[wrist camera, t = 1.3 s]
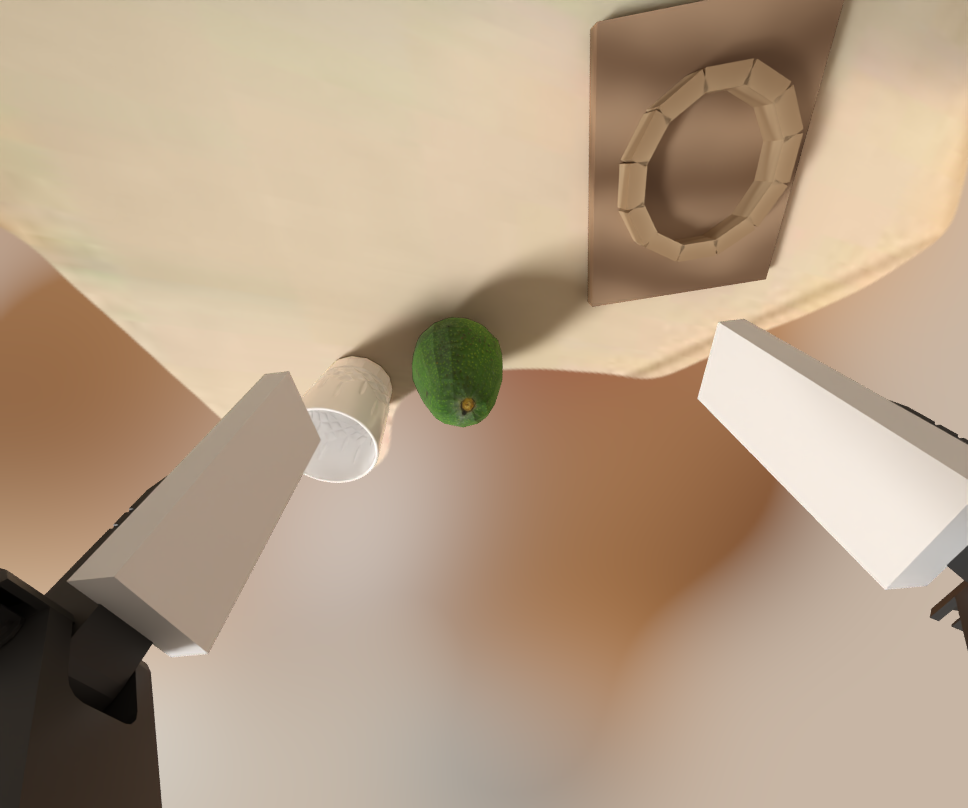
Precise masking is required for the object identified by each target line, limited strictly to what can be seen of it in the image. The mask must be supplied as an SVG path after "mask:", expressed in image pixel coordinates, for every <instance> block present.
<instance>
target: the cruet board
mask: <svg viewBox="0 0 968 808" xmlns="http://www.w3.org/2000/svg"><path fill="white" fill-rule="evenodd" d="M843 3H844V0H704V1H699V2H694V3H689V4H684V5H679V6H674V7H669V8H664V9H659V10H654V11H649V12H644V13H639V14H634V15H629V16H624V17H619V18H614V19H609V20H604V21H599V22H597V23H596V24H595V25H594V26H593V27H592V28H591V29H590V116H589V215H588V302H589V304H590V305H591V306H592V307H594V306H600V305H606V304H613V303H619V302H625V301H632V300H638V299H644V298H651V297H657V296H663V295H669V294H676V293H682V292H688V291H695V290H701V289H707V288H713V287H720V286H726V285H732V284H739V283H745V282H751V281H758V280H764V279H766V277H767V273H768V270H769V266H770V262H771V259H772V255H773V252H774V248H775V245H776V241H777V238H778V234H779V230H780V227H781V223H782V220H783V216H784V213H785V209H786V205H787V202H788V198H789V195H790V191H791V188H792V184H793V181H794V177H795V173H796V170H797V166H798V163H799V159H800V156H801V152H802V149H803V145H804V141H805V138H806V134H807V131H808V127H809V124H810V120H811V116H812V113H813V109H814V106H815V102H816V99H817V95H818V92H819V88H820V84H821V81H822V77H823V74H824V70H825V67H826V63H827V59H828V56H829V52H830V49H831V45H832V42H833V38H834V35H835V31H836V27H837V24H838V20H839V17H840V13H841V10H842V6H843Z"/></svg>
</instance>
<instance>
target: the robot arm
mask: <svg viewBox="0 0 968 808" xmlns="http://www.w3.org/2000/svg"><path fill="white" fill-rule="evenodd" d="M698 399H699V401H700V402H701V403H702V404H703V405H704V406H705V407H706V408H707V409H708V410H709V411H710V412H711V413H712V414H713V415H714V416H715V417H716V418H717V419H718V420H719V421H720V422H721V423H722V424H723V425H724V426H725V427H726V428H727V429H728V430H729V431H730V432H731V433H732V434H733V435H734V436H735V437H736V438H737V439H738V440H739V441H740V442H741V443H742V444H743V445H744V446H745V447H746V448H747V449H748V451H750V452H751V454H753V456H754V457H755V458H756V459H757V460H758V461H759V462H760V463H761V464H762V465H763V466H764V467H765V468H766V469H767V470H768V471H769V472H770V473H771V474H772V475H773V476H774V477H775V478H776V479H777V480H778V481H779V482H780V483H781V484H782V485H783V486H784V487H785V488H786V489H787V490H788V491H789V492H790V493H791V494H792V495H793V496H794V497H795V498H796V499H797V500H798V501H799V502H800V504H801V505H802V506H803V507H804V508H805V509H806V510H807V511H808V512H809V513H810V514H811V515H812V516H813V517H814V518H815V519H816V520H817V521H818V522H819V523H820V524H821V525H822V526H823V527H824V528H825V529H826V530H827V531H828V532H829V533H830V534H831V535H832V536H833V537H834V538H835V539H836V540H837V541H838V542H839V543H840V544H841V545H842V546H843V547H844V548H845V549H846V550H847V551H848V552H849V554H850V555H851V556H852V557H853V558H854V559H855V560H856V561H857V562H858V563H859V564H860V565H861V566H862V567H863V568H864V569H865V570H866V571H867V572H868V573H869V574H870V575H871V576H872V577H873V578H874V579H875V580H876V581H877V582H878V583H879V584H880V585H881V586H882V587H883V588H884V589H885V590H887V589H899V588H909V587H920V586H927V585H928V584H929V583H930V582H931V581H932V580H933V579H934V578H936V577H937V576H938V575H939V574H940V573H941V572H942V571H943V570H944V569H945V568H946V567H947V566H948V567H949V568H950V569H952V570H953V571H954V572H955V573H956V574H958V575H959V576H960V577H961V578H962V579H963V580H964V581H963V582H962V583H961V584H960V585H958V586H957V587H956V588H955V589H954V590H953V591H952V592H950V593H949V594H948V595H947V596H946V597H944V599H942V600H941V601H940V602H939V603H938V604H936V605H935V606H934V607H933V608H932V609H931V614H930V618H932V619H935V620H937V621H939V620H941V619H942V618H943V617H944V616H945V615H947V614H948V613H949V612H951V611H952V610H957V611H959V616H960V618H959V619H957V620H956V621H955V622H954V623H953V624H952V627H954V628H957V629H959V630H961V631H963V632H964V637H965V641H966V645H967V649H968V440H967V439H965V438H958V434H956V433H954V432H952V431H950V430H949V429H947V428H945V427H943V426H942V425H935V422H934V421H932V420H931V419H929V418H927V417H925V416H923V415H922V414H920V413H918V412H916V411H914V410H913V409H911V408H909V407H907V406H904V405H901V404H899V403H896V402H893V401H890V400H888V399H886V398H884V397H882V396H880V395H879V394H877V393H875V392H873V391H871V390H870V389H868V388H866V387H864V386H863V385H861V384H859V383H857V382H855V381H854V380H852V379H850V378H848V377H846V376H845V375H843V374H841V373H839V372H838V371H836V370H834V369H832V368H831V367H828V366H827V365H825V364H823V363H822V362H820V361H818V360H816V359H815V358H813V357H811V356H809V355H807V354H806V353H804V352H802V351H800V350H799V349H797V348H795V347H793V346H791V345H790V344H788V343H786V342H784V341H782V340H781V339H779V338H777V337H775V336H774V335H772V334H770V333H768V332H766V331H765V330H763V329H761V328H759V327H758V326H756V325H754V324H752V323H750V322H749V321H747V320H745V319H740V320H731V321H723V322H718V325H717V329H716V333H715V336H714V340H713V344H712V347H711V351H710V355H709V358H708V362H707V366H706V370H705V373H704V377H703V381H702V385H701V388H700V392H699V395H698ZM320 441H321V439H320V437H319V435H318V432H317V430H316V428H315V426H314V424H313V422H312V420H311V417H310V415H309V413H308V411H307V409H306V407H305V405H304V402H303V400H302V398H301V396H300V394H299V392H298V390H297V387H296V385H295V383H294V381H293V379H292V377H291V375H290V372H289V371H288V372H279V373H271V374H264V375H263V377H262V378H261V379H260V380H259V381H258V382H257V383H256V384H255V385H254V386H253V387H252V388H251V389H250V390H249V391H248V392H247V393H246V394H245V395H244V396H243V397H242V398H241V400H240V401H239V402H238V403H237V404H236V405H235V406H234V407H233V408H232V409H231V410H230V411H229V412H228V413H227V414H226V415H225V416H224V417H223V418H222V419H221V420H220V422H219V423H218V424H217V425H216V426H215V427H214V428H213V429H212V430H211V431H210V432H209V433H208V434H207V435H206V436H205V437H204V438H203V439H202V441H201V442H199V444H198V445H197V446H196V447H195V448H194V449H193V450H192V451H191V452H190V453H189V454H188V455H187V456H186V457H185V458H184V459H183V460H182V461H181V462H180V463H179V464H178V465H177V466H176V468H175V469H174V470H173V471H172V472H171V473H170V474H169V475H168V476H166V477H165V478H163V479H162V480H161V481H159V482H158V483H157V484H155V485H154V486H152V487H151V488H149V489H148V490H147V491H146V492H145V493H144V494H143V495H142V496H141V497H140V498H139V499H138V500H137V501H136V502H135V503H134V504H133V505H132V506H131V507H130V508H129V512H126V513H124V514H123V515H122V516H121V517H120V518H119V519H118V521H117V522H116V523H115V524H114V528H113V529H109V530H108V531H107V532H106V533H105V534H104V535H103V536H102V537H101V538H100V539H99V540H98V541H97V542H96V543H95V544H94V545H93V546H92V547H91V548H90V549H89V550H88V551H87V552H86V553H85V554H84V555H83V556H82V557H81V558H80V559H79V560H78V561H77V562H76V563H75V565H74V566H73V567H72V568H71V569H70V570H69V571H68V572H67V573H66V574H65V575H64V576H63V577H62V578H61V579H60V580H59V581H58V582H57V583H56V584H55V585H54V586H53V587H52V588H51V589H50V590H49V591H48V592H47V593H46V594H45V595H43V594H42V593H40V592H38V591H37V590H35V589H34V588H33V587H31V586H30V585H28V584H27V583H25V582H23V581H22V580H21V579H19V578H18V577H16V576H15V575H13V574H12V573H10V572H8V571H7V570H5V569H1V568H0V808H162V803H161V790H160V778H159V766H158V755H157V742H156V731H155V718H154V706H153V694H152V682H151V672H150V670H149V667H148V665H147V664H146V663H145V662H143V661H142V658H143V657H144V656H145V654H146V652H147V651H148V650H149V648H150V646H151V645H152V644H154V645H155V646H156V647H157V648H159V649H160V650H162V651H163V652H164V653H166V654H167V655H168V656H170V657H179V656H190V655H200V654H208V653H209V652H210V650H211V648H212V646H213V644H214V642H215V640H216V638H217V637H218V635H219V633H220V631H221V629H222V627H223V625H224V623H225V621H226V620H227V618H228V616H229V614H230V612H231V610H232V608H233V606H234V604H235V602H236V601H237V599H238V597H239V595H240V593H241V591H242V589H243V587H244V585H245V583H246V581H247V580H248V578H249V576H250V574H251V572H252V570H253V568H254V566H255V564H256V562H257V561H258V559H259V557H260V555H261V553H262V551H263V549H264V547H265V545H266V544H267V542H268V540H269V538H270V536H271V534H272V532H273V530H274V528H275V526H276V524H277V523H278V521H279V519H280V517H281V515H282V513H283V511H284V509H285V507H286V505H287V504H288V502H289V500H290V498H291V496H292V494H293V492H294V490H295V488H296V487H297V484H298V483H299V481H300V479H301V477H302V475H303V473H304V471H305V469H306V468H307V466H308V464H309V462H310V460H311V458H312V456H313V454H314V452H315V450H316V449H317V447H318V445H319V443H320Z"/></svg>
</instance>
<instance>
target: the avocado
mask: <svg viewBox="0 0 968 808" xmlns="http://www.w3.org/2000/svg"><path fill="white" fill-rule="evenodd" d="M502 369H503V364H502V353H501V349H500V346H499V342H498V340H497V339H496V338H495V337H494V336H493V335H492V334H491V333H490V332H489V331H488V330H487V329H486V328H485V327H484V326H483V325H481V324H479V323H477V322H475V321H472V320H469V319H467V318H454V317H451V318H447V319H444V320H442V321H439V322H436V323H434V324H433V325H432V326H430V327H429V328H428V329H427V330H426V331H424V332H423V333H422V334H421V336H420V337H419V339H418V341H417V344H416V347H415V350H414V354H413V361H412V378H413V381H414V384H415V386H416V388H417V391H418V393H419V394H420V396H421V399H422V400H423V402H424V404H425V405H426V406H427V408H428V409H429V410H430V412H431V413H432V414H433V416H435V418H436V419H438V420H440V421H441V422H443V423H445V424H449V425H454V426H460V427H466V426H470V425H474V424H478V423H479V422H481V421H482V420H483V419H484V418H486V417H487V416H488V414H489V413H490V411H491V409H492V408H493V406H494V405H495V402H496V399H497V396H498V392H499V389H500V385H501V382H502Z"/></svg>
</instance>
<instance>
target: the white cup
mask: <svg viewBox="0 0 968 808" xmlns="http://www.w3.org/2000/svg"><path fill="white" fill-rule="evenodd" d="M391 395H392V386H391V381H390V377H389V376H388V375H387V374H386V372H385V371H384V370H383V368H382V367H381V366H380V365H378V364H376V363H374V362H373V361H371V360H369V359H367V358H361V357H355V356H350V357H346V358H342V359H338V360H336V361H335V362H334V363H333V364H332V365H331V366H330V367H329V368H328V369H327V370H326V371H325V373H324V374H323V375H321V376H320V377H319V378H318V379H317V381H316V382H315V383H314V384H313V385H312V386H311V387H310V389H309V390H308V391H307V392H306V393H305V394H304V395H303V396H302V400H303V402H304V405H305V407H306V409H307V411H308V413H309V415H310V417H311V420H312V422H313V424H314V426H315V428H316V430H317V432H318V435H319V437H320V439H321V441H320V443H319V445H318V447H317V449H316V450H315V452H314V454H313V456H312V458H311V460H310V462H309V464H308V466H307V468H306V469H305V471H304V473H303V474H304V475H306V476H309V477H311V478H314V479H317V480H321V481H325V482H334V483H340V482H349V481H354V480H357V479H359V478H361V477H363V476H365V475H366V474H368V473H369V472H370V471H371V470H372V469H373V468H374V466H375V465H376V463H377V460H378V456H379V452H380V448H381V443H382V439H383V435H384V431H385V427H386V422H387V417H388V412H389V403H390V398H391Z"/></svg>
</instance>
